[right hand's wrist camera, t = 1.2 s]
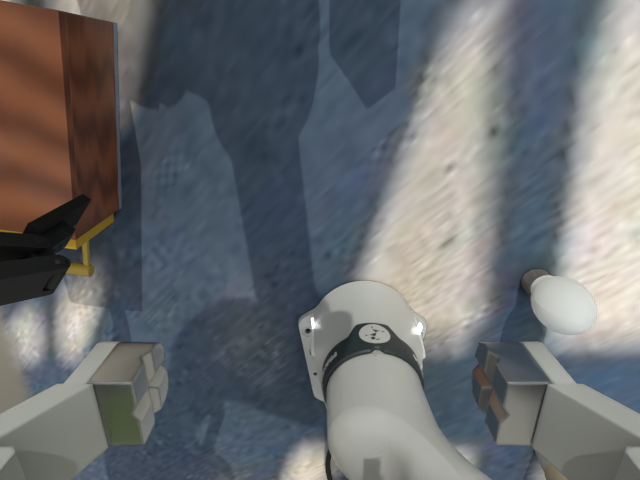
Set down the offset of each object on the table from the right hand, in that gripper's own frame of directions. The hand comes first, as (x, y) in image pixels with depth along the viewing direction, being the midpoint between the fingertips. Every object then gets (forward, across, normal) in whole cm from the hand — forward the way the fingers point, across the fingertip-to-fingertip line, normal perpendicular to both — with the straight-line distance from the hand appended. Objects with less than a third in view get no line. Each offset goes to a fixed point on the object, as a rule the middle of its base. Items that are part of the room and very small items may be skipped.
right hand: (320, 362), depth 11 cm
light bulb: (+43, +30, -20) cm, 57 cm away
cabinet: (+43, -30, +2) cm, 52 cm away
